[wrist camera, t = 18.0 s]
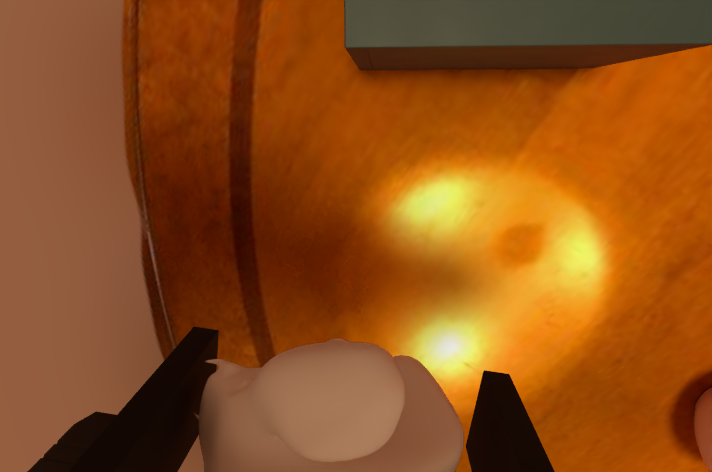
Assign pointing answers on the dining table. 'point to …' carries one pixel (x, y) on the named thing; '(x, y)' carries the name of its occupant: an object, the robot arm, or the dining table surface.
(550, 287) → the dining table surface
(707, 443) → the cup
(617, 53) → the cabinet
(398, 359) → the elephant figurine
